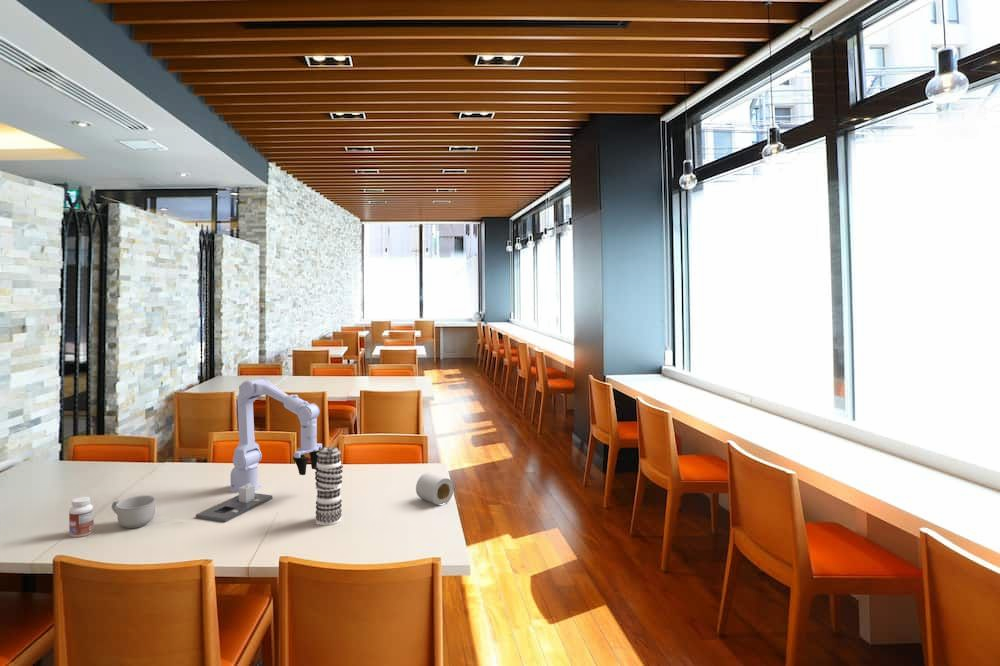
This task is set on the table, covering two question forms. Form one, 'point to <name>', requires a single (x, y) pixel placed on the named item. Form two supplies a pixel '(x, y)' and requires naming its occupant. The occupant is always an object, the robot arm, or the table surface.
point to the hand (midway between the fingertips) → (308, 471)
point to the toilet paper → (434, 488)
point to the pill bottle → (81, 517)
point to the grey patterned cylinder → (328, 486)
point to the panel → (232, 508)
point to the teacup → (135, 510)
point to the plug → (247, 493)
